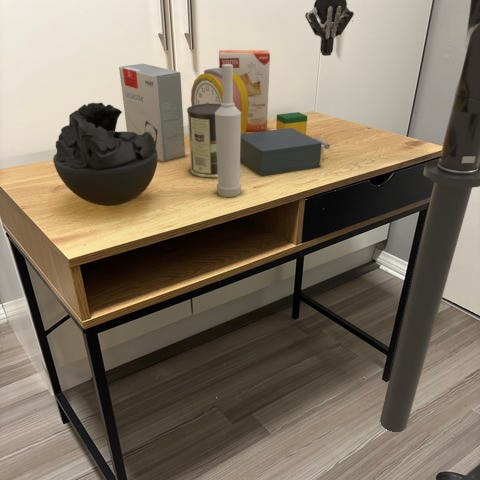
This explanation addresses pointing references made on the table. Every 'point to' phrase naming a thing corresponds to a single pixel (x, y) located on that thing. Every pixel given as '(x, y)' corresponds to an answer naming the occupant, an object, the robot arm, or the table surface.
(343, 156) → the table surface
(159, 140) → the hard drive box
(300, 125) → the sponge
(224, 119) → the bottle
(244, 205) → the table surface
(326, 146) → the drawer
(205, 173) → the coffee can
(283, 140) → the cabinet
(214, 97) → the alarm clock
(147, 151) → the bowl of black rocks
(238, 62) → the cracker box
